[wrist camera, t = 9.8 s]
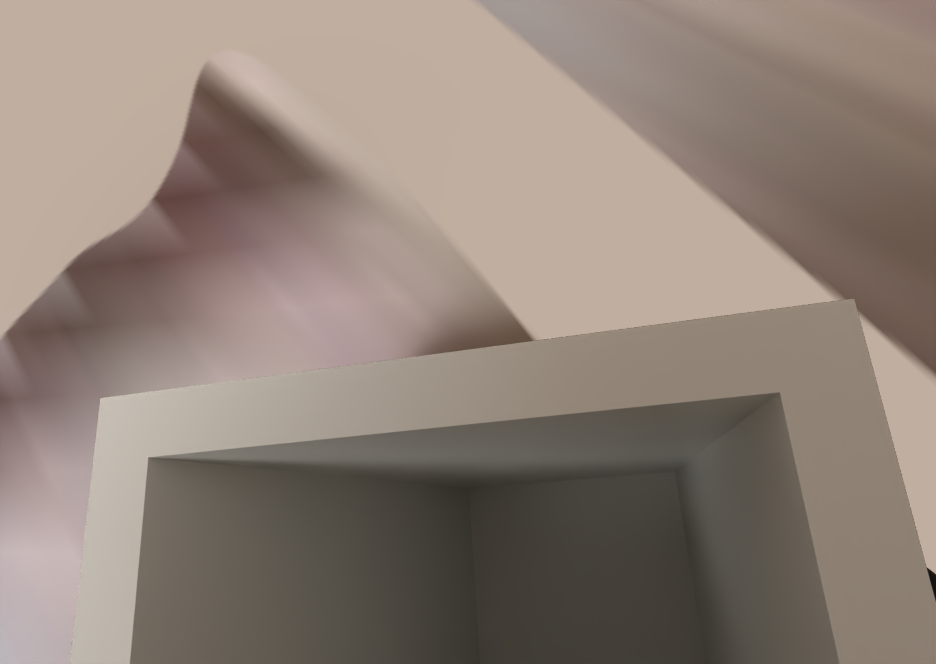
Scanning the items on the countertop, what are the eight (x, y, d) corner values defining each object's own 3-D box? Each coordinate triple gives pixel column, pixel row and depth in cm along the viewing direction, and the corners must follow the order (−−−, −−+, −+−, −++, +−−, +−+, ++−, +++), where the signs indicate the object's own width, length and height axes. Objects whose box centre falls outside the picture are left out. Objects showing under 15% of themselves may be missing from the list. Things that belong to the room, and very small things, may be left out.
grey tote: (742, 734, 13) (1272, 1848, 2) (468, 729, 15) (-17, 1396, 4) (693, 447, 15) (853, 299, 4) (454, 468, 17) (100, 397, 6)
